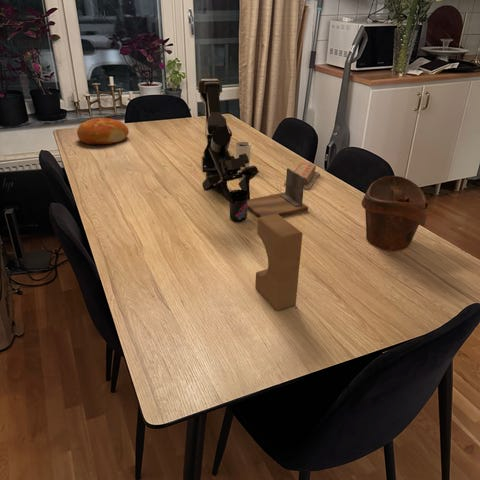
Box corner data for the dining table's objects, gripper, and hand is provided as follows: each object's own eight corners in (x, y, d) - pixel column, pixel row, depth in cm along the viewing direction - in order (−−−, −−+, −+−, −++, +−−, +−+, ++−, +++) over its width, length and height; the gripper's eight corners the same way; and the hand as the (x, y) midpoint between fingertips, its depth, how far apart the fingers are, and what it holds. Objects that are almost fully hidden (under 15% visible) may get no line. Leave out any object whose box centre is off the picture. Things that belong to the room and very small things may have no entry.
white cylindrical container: (231, 168, 190) (232, 145, 185) (238, 163, 195) (238, 140, 190) (246, 171, 187) (247, 147, 183) (252, 165, 193) (253, 142, 188)
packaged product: (296, 160, 187) (320, 163, 184) (295, 171, 189) (319, 174, 186) (284, 174, 172) (310, 178, 169) (283, 186, 175) (308, 190, 172)
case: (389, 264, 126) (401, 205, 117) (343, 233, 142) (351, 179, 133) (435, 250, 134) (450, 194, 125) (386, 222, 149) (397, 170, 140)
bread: (122, 148, 211) (120, 126, 206) (71, 147, 211) (68, 125, 206) (133, 134, 231) (131, 114, 226) (87, 133, 231) (84, 113, 226)
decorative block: (254, 287, 116) (257, 216, 106) (273, 282, 118) (278, 212, 108) (276, 312, 107) (281, 237, 97) (296, 306, 109) (303, 232, 100)
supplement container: (231, 223, 146) (231, 197, 142) (227, 215, 151) (227, 190, 147) (249, 221, 148) (250, 196, 143) (244, 213, 153) (245, 188, 148)
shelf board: (242, 204, 159) (242, 173, 153) (286, 195, 166) (288, 165, 160) (261, 221, 148) (263, 188, 142) (307, 211, 155) (311, 179, 150)
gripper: (206, 151, 136) (226, 197, 134) (256, 141, 146) (276, 184, 143) (193, 168, 146) (212, 212, 143) (241, 157, 155) (260, 198, 153)
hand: (241, 201), depth 145 cm, fingers closed on supplement container, 6 cm apart
